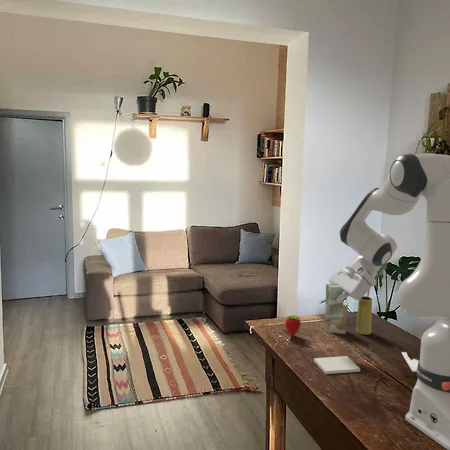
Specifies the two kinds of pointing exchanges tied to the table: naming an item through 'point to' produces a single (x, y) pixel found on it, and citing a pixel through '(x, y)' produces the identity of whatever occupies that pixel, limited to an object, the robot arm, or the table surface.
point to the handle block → (333, 302)
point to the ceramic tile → (336, 365)
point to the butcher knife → (411, 362)
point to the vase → (364, 315)
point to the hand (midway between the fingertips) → (332, 299)
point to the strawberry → (292, 324)
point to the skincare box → (340, 322)
